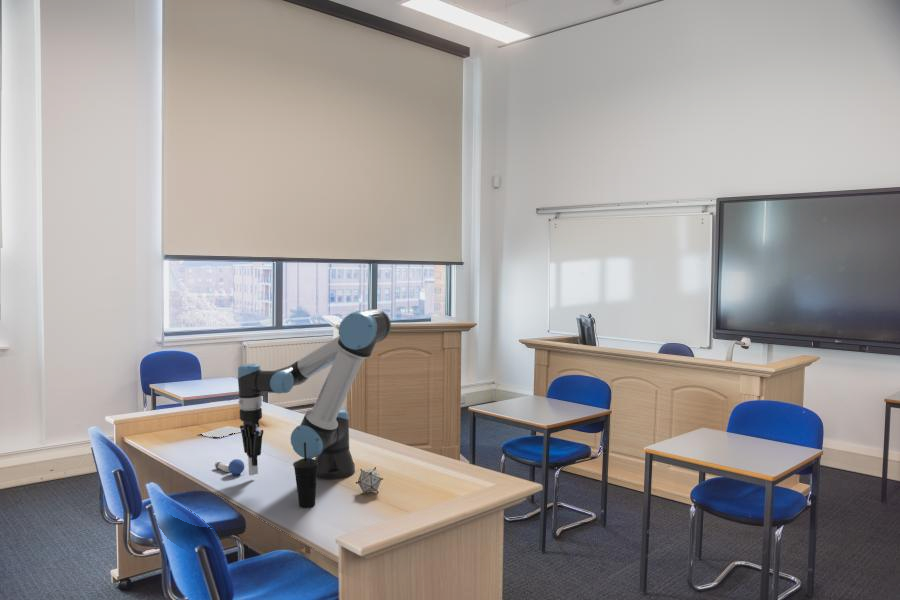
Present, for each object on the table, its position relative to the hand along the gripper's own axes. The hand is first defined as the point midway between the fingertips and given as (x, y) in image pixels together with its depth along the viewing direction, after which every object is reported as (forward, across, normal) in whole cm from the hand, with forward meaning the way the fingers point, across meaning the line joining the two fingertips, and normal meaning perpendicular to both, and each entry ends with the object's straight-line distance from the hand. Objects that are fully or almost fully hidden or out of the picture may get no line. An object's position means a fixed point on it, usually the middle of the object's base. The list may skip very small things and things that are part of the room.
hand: (253, 474), depth 236 cm
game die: (+2, +41, +20) cm, 46 cm away
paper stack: (+3, -64, +19) cm, 67 cm away
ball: (-1, -10, -2) cm, 10 cm away
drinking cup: (+2, +36, 0) cm, 36 cm away
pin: (+1, -14, -2) cm, 14 cm away
